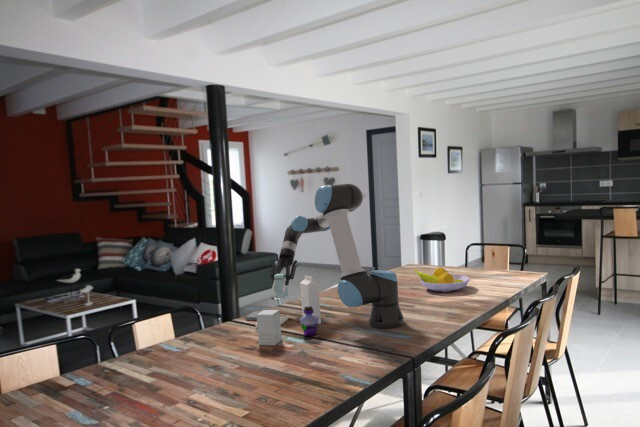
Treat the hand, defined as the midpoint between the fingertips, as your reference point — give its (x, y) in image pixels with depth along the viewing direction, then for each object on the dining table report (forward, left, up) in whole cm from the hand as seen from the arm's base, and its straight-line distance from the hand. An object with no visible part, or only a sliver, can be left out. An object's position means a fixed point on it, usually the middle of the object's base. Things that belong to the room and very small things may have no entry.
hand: (278, 290), depth 231 cm
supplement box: (-36, +7, -13) cm, 39 cm away
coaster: (+5, +10, -13) cm, 17 cm away
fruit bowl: (+19, -92, -13) cm, 95 cm away
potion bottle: (-32, -10, -13) cm, 36 cm away
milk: (-17, -13, -13) cm, 25 cm away
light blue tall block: (+3, -2, -4) cm, 5 cm away
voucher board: (-9, +5, -13) cm, 17 cm away
